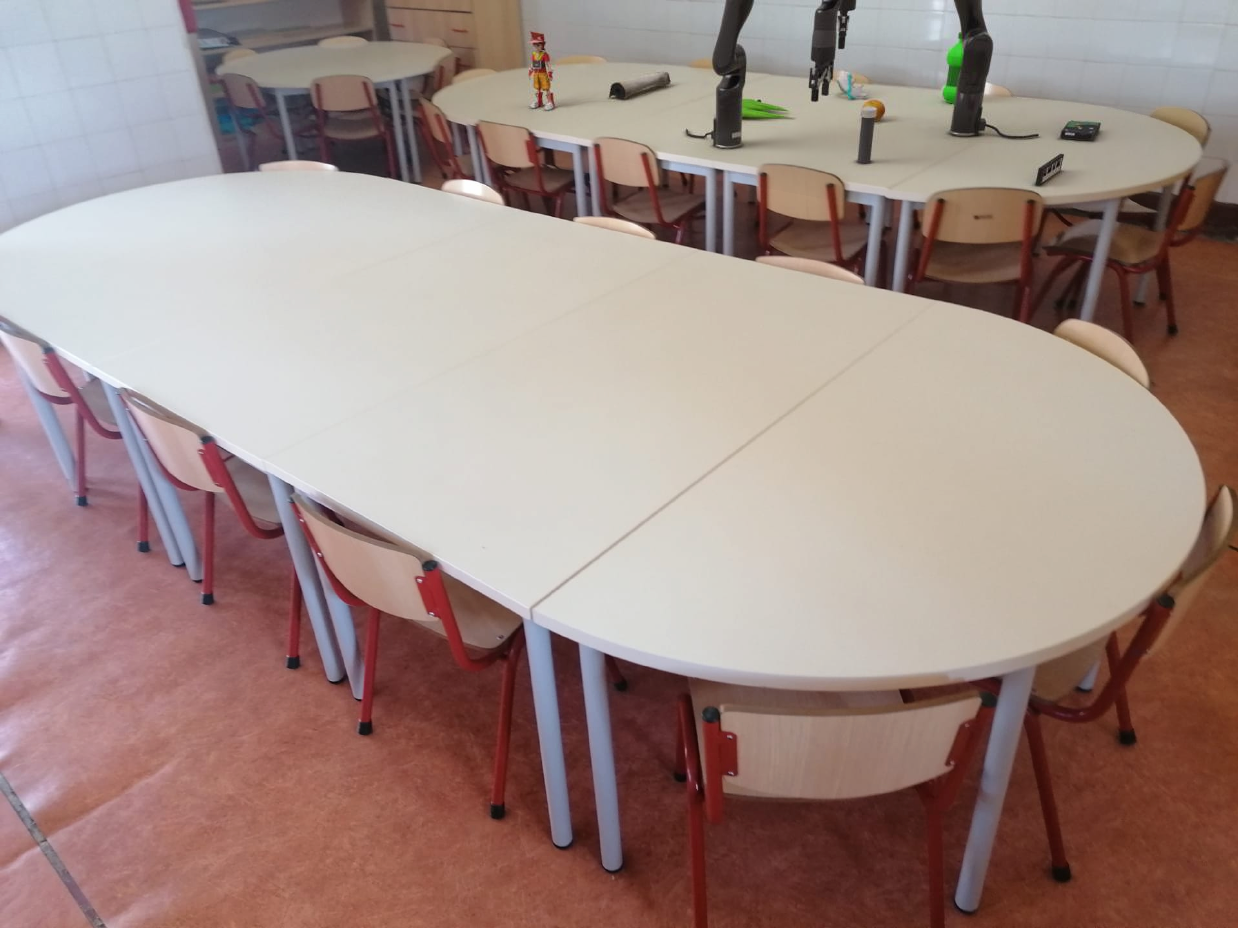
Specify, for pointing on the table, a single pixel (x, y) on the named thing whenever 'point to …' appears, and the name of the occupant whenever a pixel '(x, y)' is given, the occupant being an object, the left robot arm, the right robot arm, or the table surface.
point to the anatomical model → (850, 86)
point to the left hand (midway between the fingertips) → (819, 98)
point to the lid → (868, 112)
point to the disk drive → (1080, 130)
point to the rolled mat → (638, 84)
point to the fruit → (877, 105)
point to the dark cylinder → (866, 140)
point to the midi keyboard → (1049, 169)
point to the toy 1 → (541, 71)
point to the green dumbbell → (953, 70)
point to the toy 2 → (759, 109)
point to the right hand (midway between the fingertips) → (841, 46)
